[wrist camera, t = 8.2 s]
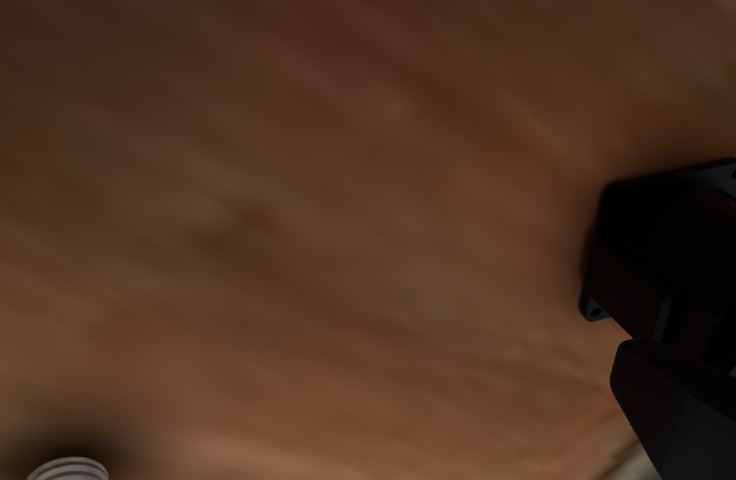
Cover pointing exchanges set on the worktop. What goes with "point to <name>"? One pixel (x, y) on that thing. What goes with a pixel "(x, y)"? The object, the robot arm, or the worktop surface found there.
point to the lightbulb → (70, 470)
